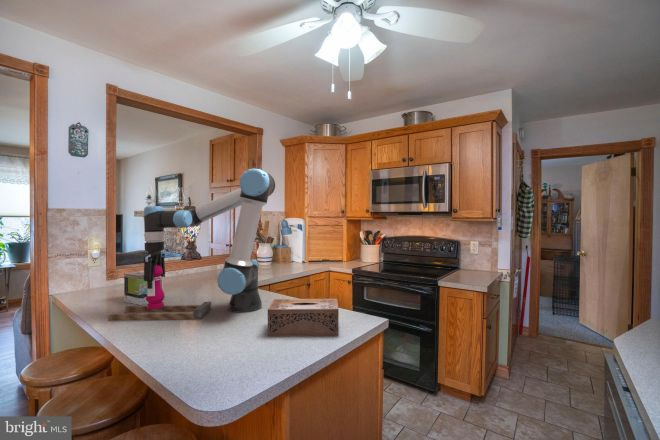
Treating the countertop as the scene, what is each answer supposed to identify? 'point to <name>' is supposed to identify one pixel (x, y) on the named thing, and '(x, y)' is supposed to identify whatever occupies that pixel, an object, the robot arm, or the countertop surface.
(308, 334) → the tissue box cover
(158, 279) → the pepper mill
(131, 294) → the tea box
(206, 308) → the guide track
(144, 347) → the countertop surface
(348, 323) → the countertop surface
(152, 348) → the countertop surface
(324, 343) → the countertop surface
